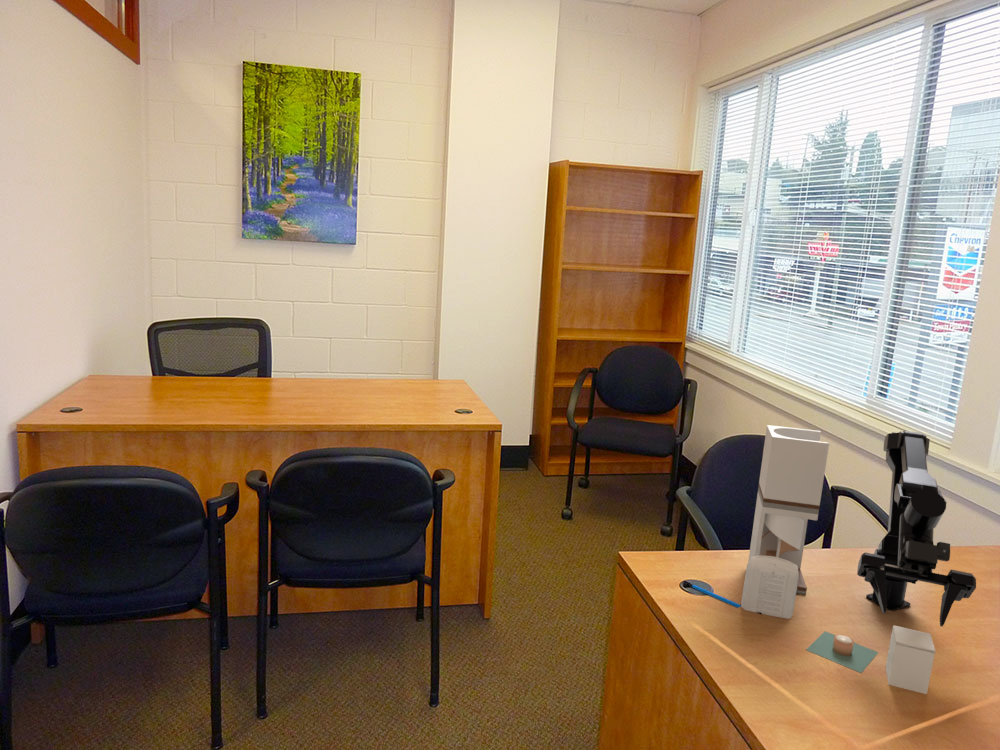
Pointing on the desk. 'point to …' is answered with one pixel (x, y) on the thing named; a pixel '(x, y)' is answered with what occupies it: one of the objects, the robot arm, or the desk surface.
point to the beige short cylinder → (843, 645)
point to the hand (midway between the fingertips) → (912, 619)
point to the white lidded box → (910, 659)
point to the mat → (855, 661)
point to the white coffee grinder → (788, 493)
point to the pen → (717, 596)
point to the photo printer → (770, 586)
